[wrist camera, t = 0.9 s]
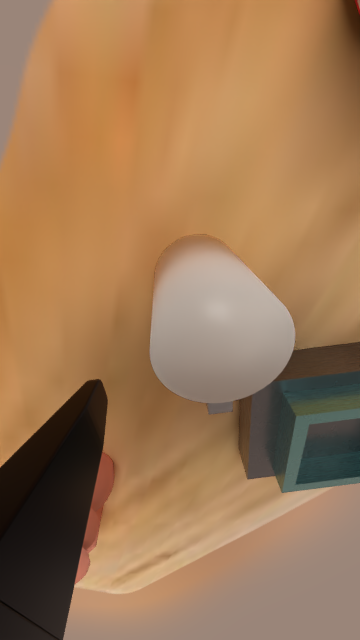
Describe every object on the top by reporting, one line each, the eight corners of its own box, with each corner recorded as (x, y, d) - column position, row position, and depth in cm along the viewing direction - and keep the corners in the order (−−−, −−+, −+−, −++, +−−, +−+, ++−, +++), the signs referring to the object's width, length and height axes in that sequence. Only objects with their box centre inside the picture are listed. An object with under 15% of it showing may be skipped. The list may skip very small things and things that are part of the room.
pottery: (74, 532, 33) (44, 657, 24) (-3, 518, 30) (-68, 654, 21) (141, 459, 26) (131, 597, 18) (49, 431, 23) (-17, 581, 15)
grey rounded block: (239, 229, 15) (305, 274, 8) (237, 330, 19) (282, 421, 12) (147, 240, 15) (136, 294, 8) (164, 339, 19) (166, 436, 12)
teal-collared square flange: (415, 335, 20) (486, 379, 16) (373, 431, 26) (415, 483, 22) (240, 357, 20) (262, 407, 16) (238, 448, 26) (254, 503, 22)
